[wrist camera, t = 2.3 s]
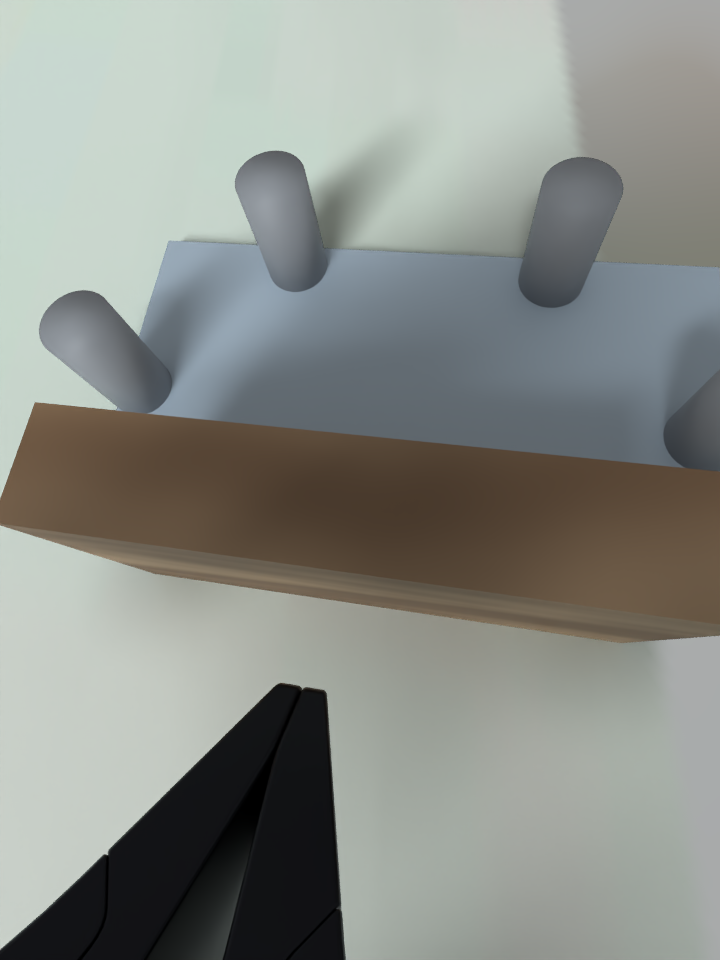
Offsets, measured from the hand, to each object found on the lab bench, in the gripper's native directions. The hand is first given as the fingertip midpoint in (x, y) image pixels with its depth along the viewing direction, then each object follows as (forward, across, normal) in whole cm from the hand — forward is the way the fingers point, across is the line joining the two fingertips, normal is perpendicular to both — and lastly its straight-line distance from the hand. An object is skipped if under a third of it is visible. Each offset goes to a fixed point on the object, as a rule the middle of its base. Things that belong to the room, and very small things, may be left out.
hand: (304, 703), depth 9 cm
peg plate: (+14, 0, -2) cm, 15 cm away
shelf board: (+9, 0, +4) cm, 10 cm away
